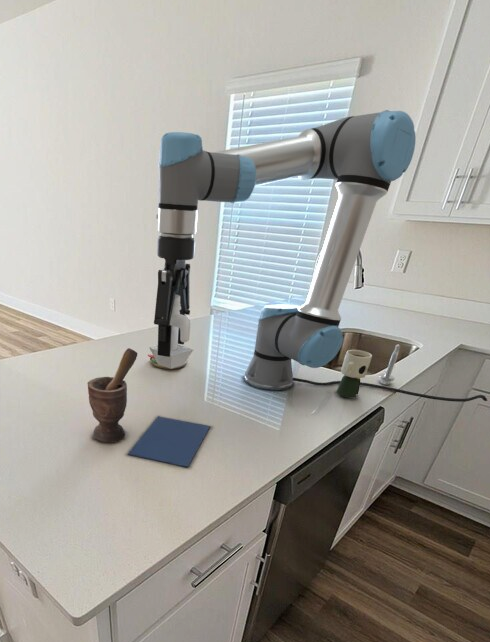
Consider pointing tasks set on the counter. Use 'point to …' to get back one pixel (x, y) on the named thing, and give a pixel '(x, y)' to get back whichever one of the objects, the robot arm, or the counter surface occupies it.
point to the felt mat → (170, 441)
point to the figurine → (176, 339)
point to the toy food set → (159, 364)
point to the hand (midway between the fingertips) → (171, 349)
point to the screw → (390, 368)
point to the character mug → (353, 372)
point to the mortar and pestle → (110, 400)
